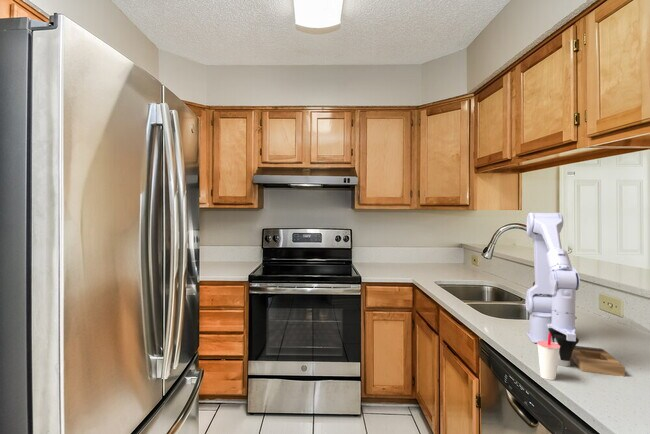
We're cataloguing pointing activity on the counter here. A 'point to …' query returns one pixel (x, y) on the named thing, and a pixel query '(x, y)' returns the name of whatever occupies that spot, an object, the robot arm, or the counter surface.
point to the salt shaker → (562, 362)
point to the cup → (548, 358)
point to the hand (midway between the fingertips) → (562, 357)
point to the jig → (596, 361)
